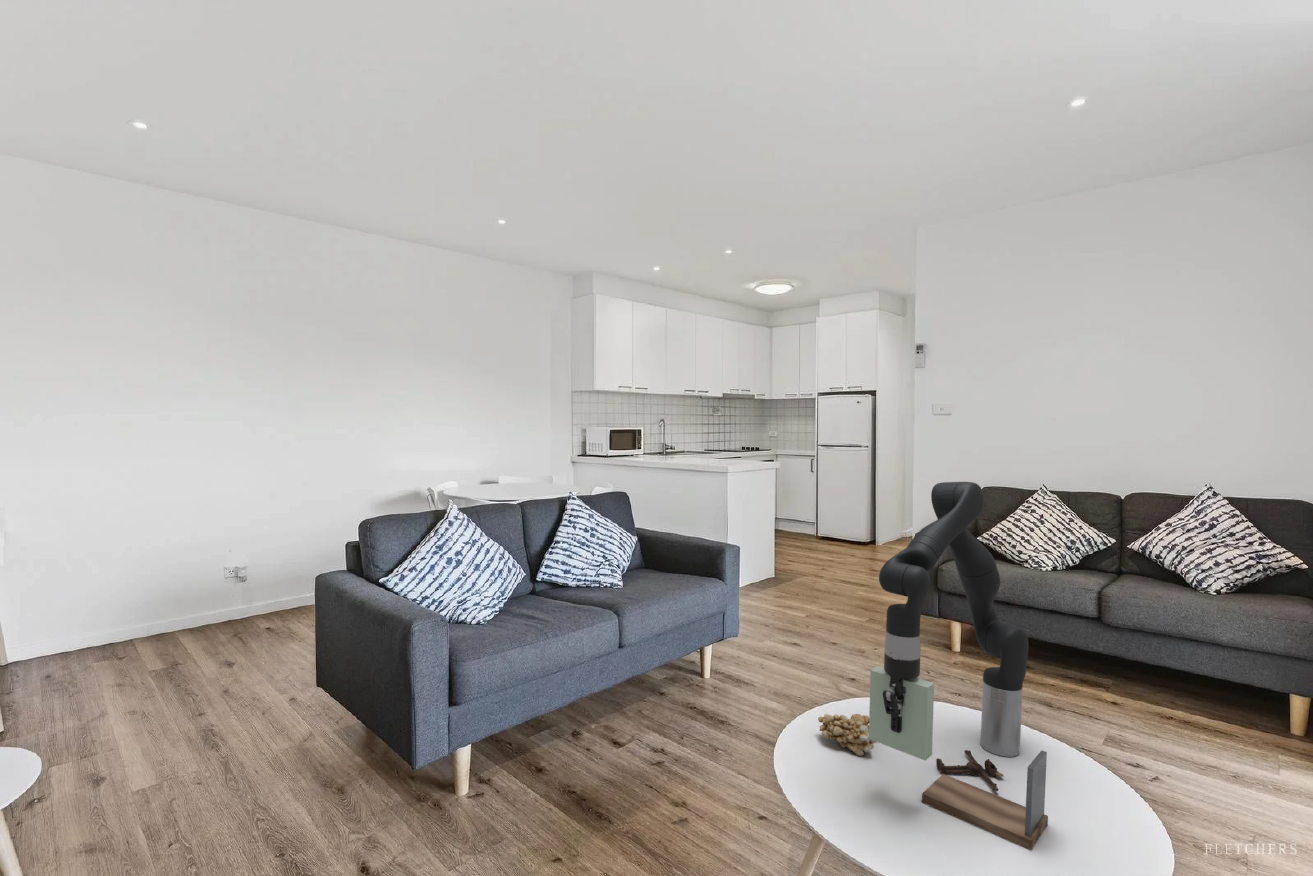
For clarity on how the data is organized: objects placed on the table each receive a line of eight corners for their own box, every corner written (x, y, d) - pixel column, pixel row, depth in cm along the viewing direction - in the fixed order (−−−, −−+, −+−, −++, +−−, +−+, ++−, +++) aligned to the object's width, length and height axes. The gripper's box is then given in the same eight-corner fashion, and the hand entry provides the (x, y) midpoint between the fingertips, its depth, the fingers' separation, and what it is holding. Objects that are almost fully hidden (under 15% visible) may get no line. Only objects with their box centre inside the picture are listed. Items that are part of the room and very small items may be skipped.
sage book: (875, 733, 150) (877, 666, 149) (931, 755, 141) (934, 683, 140) (868, 738, 147) (870, 670, 147) (925, 760, 138) (927, 687, 138)
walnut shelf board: (942, 782, 153) (943, 773, 153) (1047, 825, 137) (1047, 815, 137) (921, 802, 144) (922, 793, 144) (1031, 850, 129) (1031, 840, 129)
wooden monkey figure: (925, 742, 167) (983, 740, 165) (927, 758, 167) (984, 757, 166) (952, 781, 149) (1017, 779, 148) (953, 799, 149) (1018, 797, 148)
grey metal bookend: (1038, 814, 138) (1041, 750, 137) (1044, 816, 137) (1046, 752, 137) (1024, 835, 131) (1027, 767, 130) (1030, 837, 130) (1033, 769, 130)
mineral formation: (871, 762, 161) (811, 744, 167) (875, 746, 173) (819, 731, 179) (875, 729, 162) (815, 713, 168) (878, 716, 174) (822, 701, 180)
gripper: (899, 640, 151) (897, 713, 152) (871, 656, 141) (869, 733, 142) (931, 649, 146) (929, 724, 146) (905, 665, 136) (902, 745, 136)
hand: (900, 728), depth 144 cm, fingers closed on sage book, 3 cm apart
